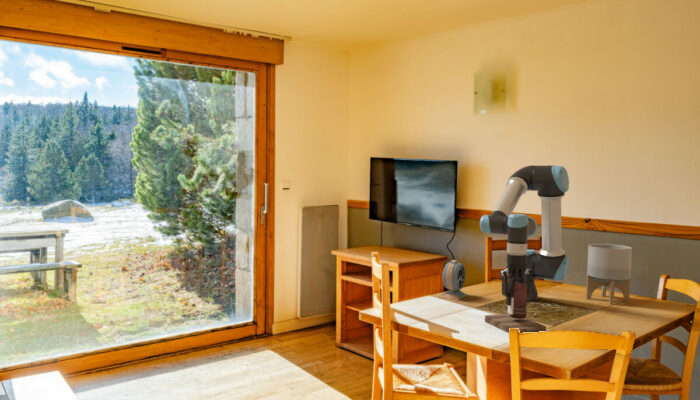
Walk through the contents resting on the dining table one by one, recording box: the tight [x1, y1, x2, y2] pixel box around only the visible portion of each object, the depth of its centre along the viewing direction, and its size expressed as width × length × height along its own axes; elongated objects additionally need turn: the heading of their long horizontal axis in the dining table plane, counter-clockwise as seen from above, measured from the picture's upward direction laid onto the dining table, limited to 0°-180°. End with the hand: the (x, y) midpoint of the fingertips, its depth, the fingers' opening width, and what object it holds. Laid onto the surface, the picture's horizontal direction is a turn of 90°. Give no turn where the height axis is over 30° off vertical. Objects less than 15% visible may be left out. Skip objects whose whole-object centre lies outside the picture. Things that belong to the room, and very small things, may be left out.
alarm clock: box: [439, 259, 468, 301], centre depth 265 cm, size 14×10×18 cm
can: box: [510, 281, 528, 319], centre depth 214 cm, size 6×6×14 cm
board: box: [484, 313, 547, 334], centre depth 213 cm, size 22×14×2 cm, turn 19°
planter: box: [585, 243, 633, 306], centre depth 263 cm, size 19×19×26 cm
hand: (514, 312), depth 214 cm, fingers open, 3 cm apart
